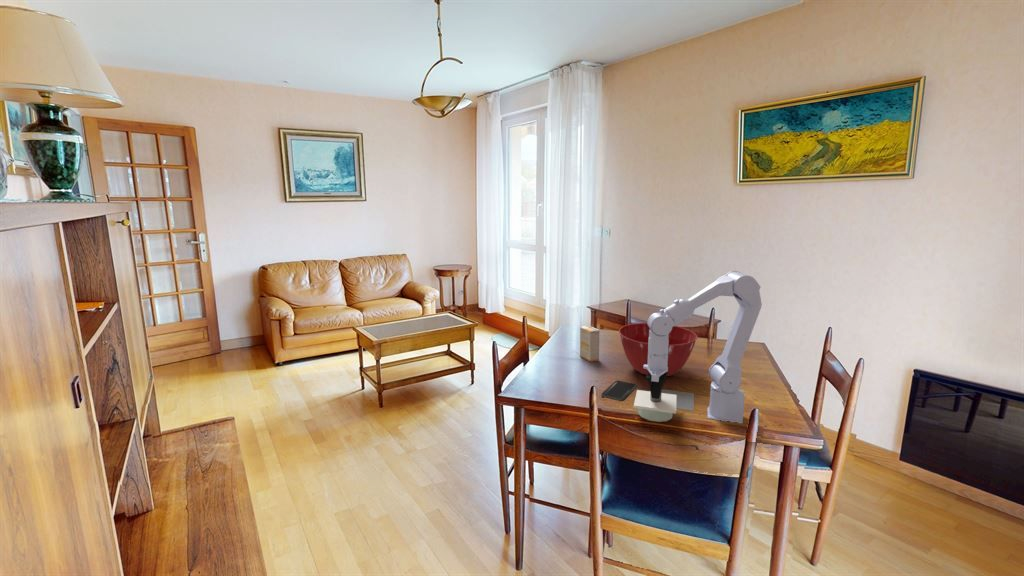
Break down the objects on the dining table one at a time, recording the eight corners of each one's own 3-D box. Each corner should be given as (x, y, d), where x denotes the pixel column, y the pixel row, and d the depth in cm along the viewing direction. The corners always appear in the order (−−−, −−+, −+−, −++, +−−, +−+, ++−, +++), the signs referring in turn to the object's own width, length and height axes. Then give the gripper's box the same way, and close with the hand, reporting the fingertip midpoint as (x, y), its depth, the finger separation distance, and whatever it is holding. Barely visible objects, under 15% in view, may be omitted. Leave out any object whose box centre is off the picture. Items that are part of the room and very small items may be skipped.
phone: (600, 394, 157) (616, 380, 169) (600, 398, 157) (616, 382, 170) (622, 400, 153) (637, 384, 165) (622, 403, 153) (637, 387, 165)
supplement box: (599, 360, 192) (600, 329, 189) (589, 362, 190) (590, 331, 188) (589, 354, 200) (589, 324, 197) (579, 356, 198) (579, 326, 195)
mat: (694, 394, 158) (694, 393, 158) (693, 411, 145) (693, 410, 145) (651, 388, 163) (651, 387, 163) (647, 405, 150) (647, 404, 150)
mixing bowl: (702, 366, 184) (704, 328, 181) (684, 391, 160) (686, 348, 157) (632, 354, 199) (633, 319, 196) (606, 375, 176) (607, 336, 173)
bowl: (673, 410, 147) (673, 398, 146) (671, 424, 137) (672, 411, 137) (640, 405, 150) (640, 393, 149) (636, 419, 141) (636, 406, 140)
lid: (676, 397, 147) (677, 385, 146) (676, 413, 136) (676, 401, 135) (636, 392, 151) (637, 381, 150) (633, 407, 140) (634, 396, 139)
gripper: (646, 344, 148) (645, 384, 151) (641, 359, 135) (639, 403, 137) (670, 346, 146) (667, 387, 148) (667, 362, 132) (664, 406, 135)
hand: (656, 395), depth 143 cm, fingers open, 3 cm apart
